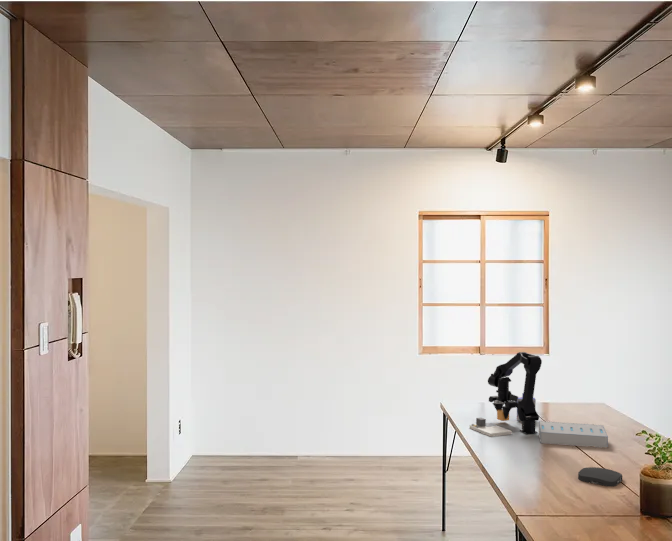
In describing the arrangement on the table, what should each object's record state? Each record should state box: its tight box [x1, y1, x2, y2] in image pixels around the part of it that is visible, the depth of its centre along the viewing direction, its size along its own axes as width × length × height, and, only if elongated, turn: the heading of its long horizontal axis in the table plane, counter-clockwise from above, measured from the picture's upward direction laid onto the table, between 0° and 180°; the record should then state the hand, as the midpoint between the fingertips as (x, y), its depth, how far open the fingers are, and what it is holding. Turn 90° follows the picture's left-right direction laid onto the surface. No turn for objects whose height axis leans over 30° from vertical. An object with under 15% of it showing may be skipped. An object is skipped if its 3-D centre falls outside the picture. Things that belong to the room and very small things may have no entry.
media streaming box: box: [577, 466, 623, 487], centre depth 252 cm, size 15×15×3 cm
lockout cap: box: [496, 409, 510, 422], centre depth 343 cm, size 4×4×5 cm
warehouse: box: [538, 420, 609, 448], centre depth 307 cm, size 30×14×8 cm, turn 75°
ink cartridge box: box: [516, 392, 537, 422], centre depth 350 cm, size 10×6×14 cm, turn 81°
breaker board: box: [469, 422, 513, 438], centre depth 326 cm, size 18×13×2 cm
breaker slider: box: [475, 417, 487, 426], centre depth 331 cm, size 4×3×4 cm
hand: (503, 417), depth 343 cm, fingers closed on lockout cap, 4 cm apart
